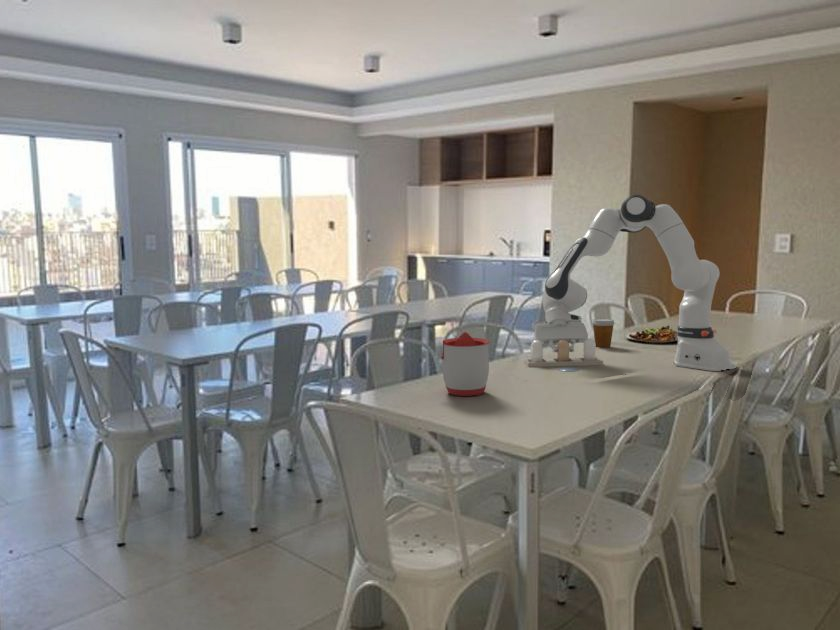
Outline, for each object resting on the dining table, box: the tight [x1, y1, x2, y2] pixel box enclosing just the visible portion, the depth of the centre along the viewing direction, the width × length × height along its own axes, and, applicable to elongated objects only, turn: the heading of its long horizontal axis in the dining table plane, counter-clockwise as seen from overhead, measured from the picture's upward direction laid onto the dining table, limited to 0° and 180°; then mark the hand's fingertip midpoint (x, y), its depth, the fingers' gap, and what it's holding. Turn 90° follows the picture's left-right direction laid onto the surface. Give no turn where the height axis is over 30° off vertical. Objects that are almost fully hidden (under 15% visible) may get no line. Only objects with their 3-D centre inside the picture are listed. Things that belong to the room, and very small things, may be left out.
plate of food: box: [624, 325, 678, 344], centre depth 321 cm, size 28×28×6 cm
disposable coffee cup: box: [591, 317, 616, 349], centre depth 304 cm, size 10×10×12 cm
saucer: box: [556, 366, 580, 373], centre depth 254 cm, size 8×8×1 cm
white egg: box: [530, 340, 544, 362], centre depth 264 cm, size 4×4×9 cm
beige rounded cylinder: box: [556, 340, 570, 362], centre depth 264 cm, size 4×4×9 cm
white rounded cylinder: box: [582, 338, 597, 361], centre depth 265 cm, size 4×4×9 cm
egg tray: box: [523, 356, 605, 368], centre depth 265 cm, size 29×8×3 cm, turn 92°
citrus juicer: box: [435, 331, 490, 397], centre depth 227 cm, size 16×17×20 cm
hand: (563, 351), depth 264 cm, fingers open, 5 cm apart
